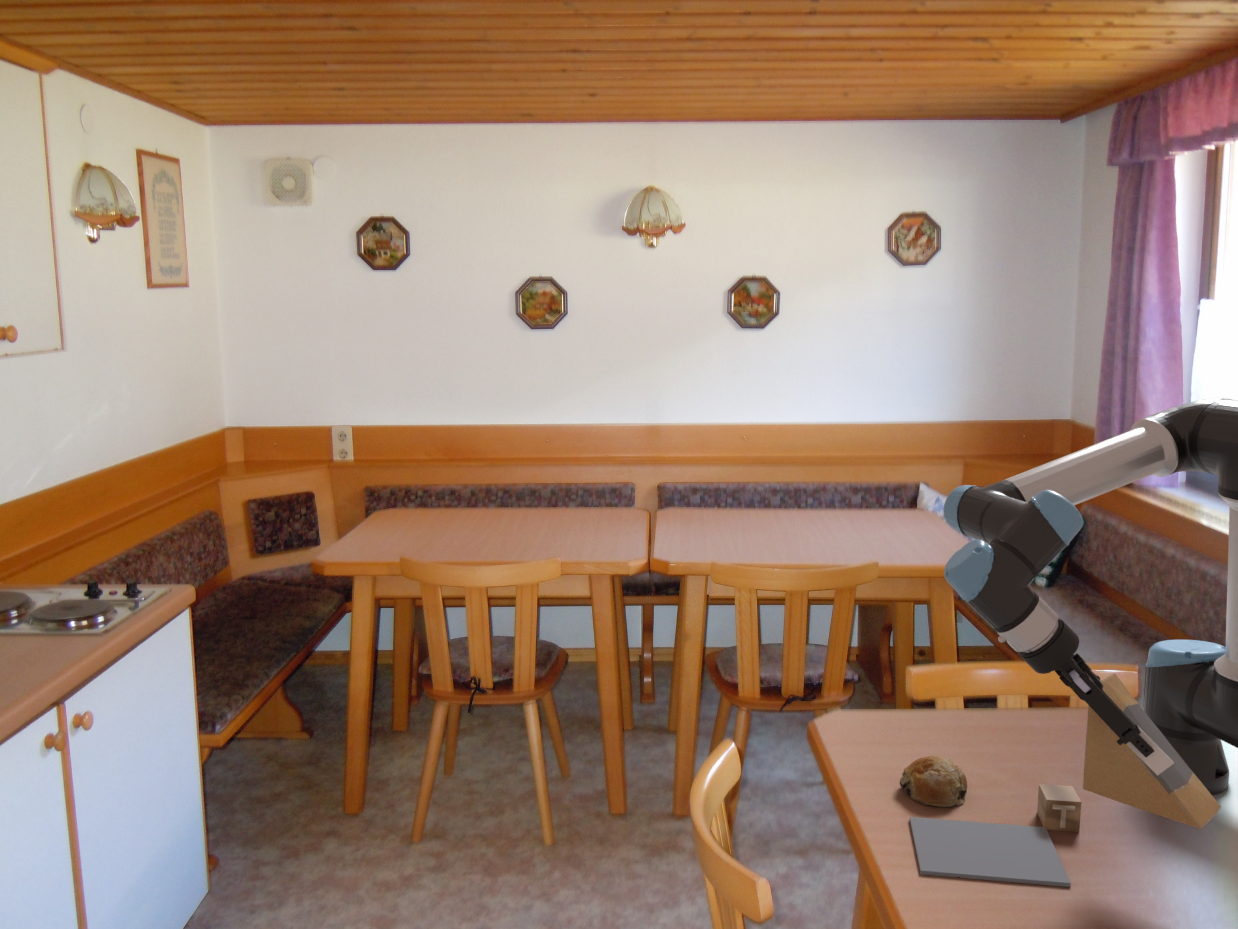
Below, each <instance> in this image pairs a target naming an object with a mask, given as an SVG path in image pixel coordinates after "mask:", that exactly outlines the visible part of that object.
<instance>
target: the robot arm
mask: <svg viewBox="0 0 1238 929" xmlns="http://www.w3.org/2000/svg"><path fill="white" fill-rule="evenodd" d="M1179 472H1202V473H1208V474H1211V475H1215V476H1218V478H1217V480H1218V483H1217V495H1218V496H1219V497H1220V498H1221V499H1222V500H1223V501H1224V502H1225V503H1226V504H1227V505H1228V506H1229V507H1228V508H1229V512H1228V514H1229V517H1228V519H1229V520H1228V550H1227V554H1228V555H1227V583H1226V585H1227V586H1226V588H1227V589H1226V615H1225V621H1226V622H1225V624H1226V625H1225V626H1226V627H1225V646H1224V645H1222V644H1219V643H1216V642H1210V641H1205V640H1198V639H1167V640H1161V641H1158V642H1155V643H1154V644H1152V645H1151V646H1150V648H1149V649H1148V655H1147V661H1146V663H1145V673H1144V676H1145V677H1144V692H1143V703H1142V704H1143V706H1142V709H1143V710H1144V711H1145V713H1146V714H1147V715H1148V717H1149V718H1150V719H1151V720H1152V722H1153V723H1154V724H1155V725H1156V727H1157V728H1158V729H1159V730H1160V731H1161V733H1162V734H1163V735H1164V737H1165V738H1166V739H1167V740H1168V742H1169V743H1170V744H1171V745H1172V747H1173V748H1174V749H1175V751H1176V752H1177V753H1178V754H1179V755H1180V757H1181V758H1182V759H1183V760H1184V762H1185V763H1186V764H1187V765H1188V767H1189V768H1190V769H1191V770H1192V772H1193V773H1194V774H1195V775H1196V777H1197V778H1198V779H1199V780H1200V781H1201V783H1202V784H1203V785H1204V786H1205V788H1206V789H1207V790H1208V791H1209V792H1210V794H1211V795H1216V794H1220V793H1222V792H1224V791H1225V790H1227V788H1228V786H1229V781H1230V780H1229V779H1230V769H1229V768H1230V767H1229V765H1228V761H1227V758H1226V754H1225V751H1224V750H1225V749H1224V747H1223V746H1224V745H1223V743H1222V742H1224V743H1227V744H1229V745H1231V746H1232V747H1235V748H1237V749H1238V400H1235V399H1231V398H1224V397H1222V398H1221V397H1214V398H1204V399H1199V400H1195V401H1191V402H1186V403H1184V404H1181V405H1177V406H1174V407H1173V406H1172V407H1170V408H1168V409H1165V410H1162V411H1160V412H1156V413H1153V414H1151V415H1149V416H1146V417H1143V418H1141V419H1138V420H1137V421H1135V422H1134V423H1133V424H1132V425H1131V428H1130V430H1128V431H1126V432H1125V431H1124V432H1122V433H1120V434H1118V435H1115V436H1113V437H1110V438H1107V439H1105V440H1102V441H1100V442H1097V443H1095V444H1093V445H1089V446H1087V447H1084V448H1082V449H1079V450H1077V451H1074V452H1072V453H1069V454H1066V455H1064V456H1061V457H1059V458H1056V459H1054V460H1051V461H1048V462H1046V463H1044V464H1041V465H1037V466H1036V467H1033V468H1031V469H1029V470H1026V471H1024V472H1021V473H1018V474H1016V475H1013V476H1011V477H1008V478H1006V479H1003V480H1000V481H997V482H995V483H991V484H989V485H986V486H984V487H981V486H979V485H971V484H962V485H959V486H957V487H956V488H954V489H953V490H951V491H950V492H949V494H948V496H947V497H946V499H945V501H944V505H943V514H944V515H943V516H944V519H945V522H946V523H947V525H948V526H949V527H950V528H951V529H953V530H954V531H956V532H958V533H959V534H961V535H963V536H964V537H967V538H970V539H973V540H971V541H969V542H968V543H966V544H964V545H963V546H962V547H961V548H960V549H958V550H957V551H956V552H954V554H952V556H951V557H950V558H949V559H948V561H947V562H946V564H945V566H944V569H943V576H944V578H945V580H946V581H947V583H948V584H949V585H950V586H951V587H952V589H953V590H954V591H955V592H956V593H957V594H958V595H959V597H960V599H961V600H963V601H965V603H966V604H967V605H969V606H970V607H971V608H972V609H973V610H974V612H976V613H977V614H978V615H979V616H980V617H981V618H982V619H983V620H984V621H985V622H986V623H987V624H988V625H989V626H990V627H991V628H992V629H993V630H994V631H995V632H996V633H997V634H998V635H999V636H998V637H997V639H998V642H999V643H1005V642H1006V643H1007V644H1008V645H1009V646H1010V647H1011V648H1012V649H1013V650H1014V651H1015V652H1018V653H1019V657H1021V659H1022V660H1023V661H1024V662H1025V663H1027V665H1028V666H1029V667H1030V668H1031V669H1032V670H1033V671H1035V673H1036V674H1037V673H1038V674H1040V675H1043V674H1050V673H1051V672H1055V673H1056V675H1057V676H1058V677H1059V679H1060V681H1061V682H1062V683H1063V684H1064V685H1065V686H1066V687H1069V688H1070V689H1071V690H1072V691H1073V693H1074V694H1075V695H1076V696H1077V697H1078V698H1079V699H1080V700H1081V701H1083V702H1084V703H1086V705H1087V706H1088V705H1089V706H1090V707H1091V708H1092V709H1093V710H1094V711H1095V712H1096V714H1097V715H1098V716H1099V717H1100V718H1101V719H1102V720H1103V721H1104V722H1105V723H1106V724H1107V725H1108V726H1109V727H1110V728H1111V730H1112V731H1113V732H1114V733H1115V734H1116V735H1117V736H1118V737H1119V738H1120V739H1119V740H1117V741H1116V742H1117V743H1118V744H1119V745H1122V744H1123V743H1124V744H1127V745H1128V746H1129V747H1130V748H1131V749H1132V750H1133V751H1134V752H1135V753H1136V754H1137V755H1138V756H1139V757H1140V758H1141V759H1142V760H1143V761H1144V763H1145V764H1146V765H1147V766H1148V767H1149V768H1150V769H1151V770H1152V771H1153V772H1154V773H1155V774H1156V775H1157V776H1158V775H1159V774H1160V773H1162V772H1163V771H1164V770H1166V769H1167V768H1169V767H1170V766H1171V765H1173V764H1174V762H1173V761H1172V760H1171V759H1170V758H1169V757H1168V756H1167V755H1166V754H1165V753H1164V752H1163V751H1162V750H1161V749H1160V748H1159V747H1158V746H1157V745H1156V744H1155V743H1154V742H1153V741H1152V740H1151V739H1150V737H1149V736H1148V735H1147V734H1146V733H1145V732H1144V731H1143V730H1142V729H1141V728H1140V727H1139V726H1137V725H1135V724H1134V723H1133V722H1132V721H1131V720H1130V719H1129V718H1128V717H1127V716H1126V715H1125V714H1124V712H1123V711H1122V710H1121V709H1120V708H1119V707H1118V706H1117V705H1116V704H1115V703H1114V702H1113V701H1112V699H1111V698H1110V697H1109V696H1108V695H1107V694H1106V693H1105V692H1104V691H1103V684H1102V683H1101V681H1102V680H1101V677H1100V676H1099V675H1098V674H1096V673H1095V672H1094V671H1092V668H1091V667H1090V666H1089V665H1088V664H1087V663H1086V661H1085V659H1083V657H1081V655H1080V654H1079V653H1078V652H1077V651H1078V648H1079V646H1080V638H1079V636H1078V634H1077V633H1076V632H1074V630H1073V629H1072V628H1071V627H1070V626H1069V625H1068V624H1067V623H1066V622H1065V621H1064V620H1063V619H1060V618H1059V616H1058V613H1057V612H1055V611H1054V609H1052V608H1051V606H1050V605H1049V604H1048V603H1047V602H1046V601H1044V600H1043V599H1042V597H1041V596H1040V595H1038V594H1037V593H1036V592H1035V591H1034V590H1033V589H1032V588H1031V587H1030V585H1031V583H1032V582H1033V581H1034V580H1035V579H1036V578H1038V576H1039V575H1040V574H1041V573H1042V572H1043V571H1044V570H1045V569H1046V568H1047V567H1048V566H1049V564H1051V563H1052V562H1053V560H1055V558H1057V557H1058V555H1060V553H1062V551H1064V550H1065V549H1066V547H1069V545H1070V544H1071V543H1070V542H1071V541H1073V539H1074V538H1075V537H1076V535H1078V533H1079V532H1080V531H1081V529H1082V528H1083V526H1084V519H1083V517H1082V516H1083V515H1082V513H1081V512H1080V511H1079V510H1078V508H1077V507H1076V505H1078V504H1081V503H1084V502H1086V501H1088V500H1091V499H1094V498H1096V497H1099V496H1101V495H1104V494H1107V493H1109V492H1112V491H1113V490H1117V489H1119V488H1121V487H1125V486H1126V485H1130V484H1131V483H1134V482H1137V481H1140V480H1142V479H1145V478H1147V477H1150V476H1154V477H1157V478H1164V477H1169V476H1170V475H1172V474H1176V473H1179Z"/></svg>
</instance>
